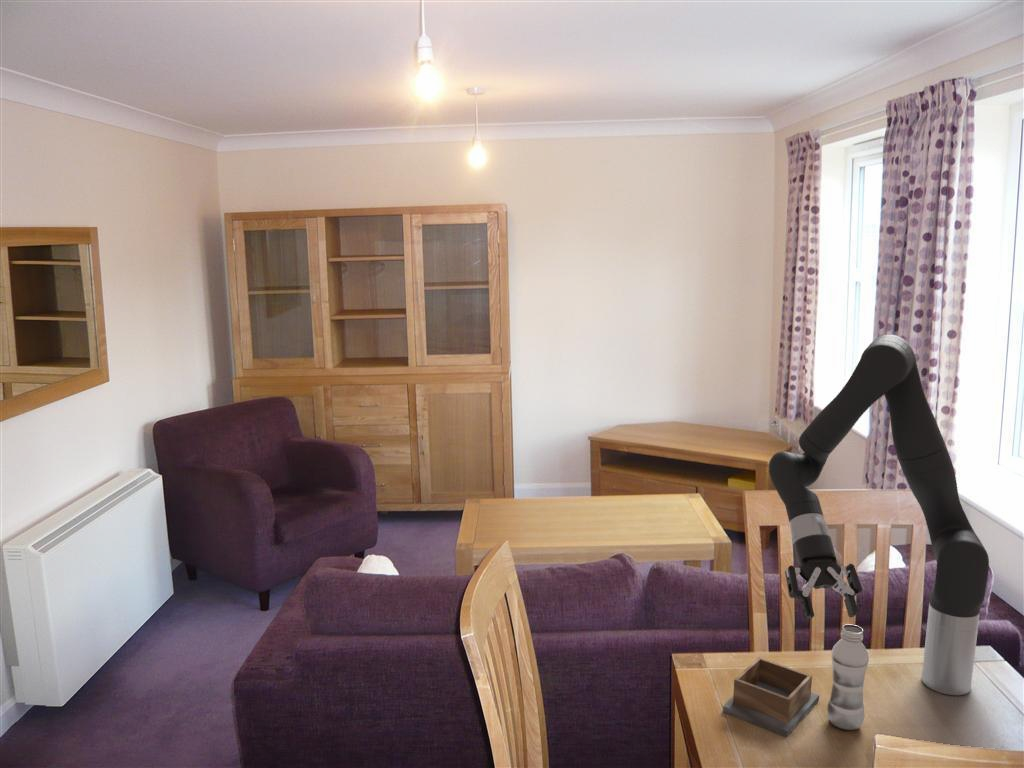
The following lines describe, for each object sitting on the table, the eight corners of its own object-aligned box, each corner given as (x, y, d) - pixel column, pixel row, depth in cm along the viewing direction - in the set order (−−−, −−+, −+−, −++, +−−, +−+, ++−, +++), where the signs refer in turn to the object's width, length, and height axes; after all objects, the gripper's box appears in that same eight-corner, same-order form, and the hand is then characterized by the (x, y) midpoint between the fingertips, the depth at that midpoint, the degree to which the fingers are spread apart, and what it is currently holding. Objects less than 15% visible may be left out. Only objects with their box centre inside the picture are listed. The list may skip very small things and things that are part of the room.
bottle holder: (757, 678, 182) (759, 651, 181) (818, 700, 174) (821, 672, 173) (722, 711, 170) (724, 682, 169) (786, 737, 162) (788, 707, 161)
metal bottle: (866, 736, 162) (875, 638, 158) (828, 732, 164) (836, 635, 160) (860, 717, 169) (868, 622, 165) (823, 713, 170) (831, 619, 166)
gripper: (784, 533, 176) (803, 612, 167) (851, 531, 177) (874, 609, 168) (772, 548, 182) (790, 624, 173) (838, 546, 183) (859, 621, 174)
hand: (832, 616), depth 171 cm, fingers open, 8 cm apart
